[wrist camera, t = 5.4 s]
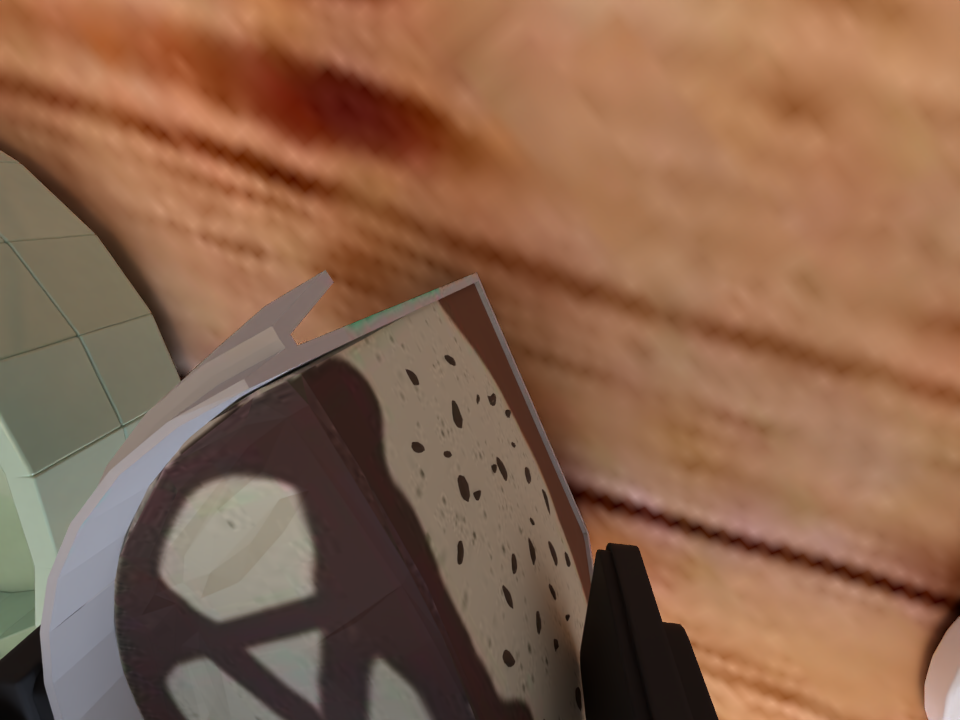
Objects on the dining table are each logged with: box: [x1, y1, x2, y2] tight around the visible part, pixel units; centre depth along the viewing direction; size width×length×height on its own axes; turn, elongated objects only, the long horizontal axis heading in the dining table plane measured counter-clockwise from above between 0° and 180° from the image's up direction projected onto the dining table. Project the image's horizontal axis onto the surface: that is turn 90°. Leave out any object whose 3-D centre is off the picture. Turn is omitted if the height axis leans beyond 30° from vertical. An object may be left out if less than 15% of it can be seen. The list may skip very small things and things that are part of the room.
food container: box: [40, 270, 594, 720], centre depth 11 cm, size 12×6×10 cm, turn 23°
